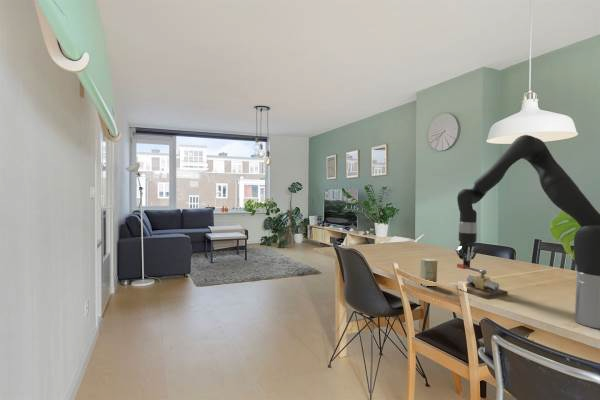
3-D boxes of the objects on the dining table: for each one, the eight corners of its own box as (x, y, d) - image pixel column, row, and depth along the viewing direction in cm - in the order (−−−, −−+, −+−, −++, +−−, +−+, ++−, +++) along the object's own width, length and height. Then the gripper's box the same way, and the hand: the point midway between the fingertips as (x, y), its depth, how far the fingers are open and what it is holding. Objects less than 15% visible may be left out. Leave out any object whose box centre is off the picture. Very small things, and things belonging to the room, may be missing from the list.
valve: (499, 293, 140) (500, 277, 140) (492, 294, 138) (493, 278, 138) (472, 285, 152) (473, 270, 152) (465, 285, 150) (466, 270, 150)
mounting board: (507, 294, 143) (507, 291, 143) (485, 298, 137) (485, 294, 137) (478, 286, 156) (478, 282, 155) (456, 289, 150) (456, 285, 150)
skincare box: (425, 287, 152) (426, 260, 152) (419, 284, 156) (420, 258, 156) (437, 286, 154) (438, 260, 153) (431, 283, 158) (431, 258, 158)
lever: (487, 274, 144) (488, 270, 144) (483, 274, 143) (483, 271, 143) (460, 266, 157) (460, 263, 157) (456, 267, 156) (456, 263, 156)
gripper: (470, 230, 162) (469, 265, 162) (450, 231, 156) (449, 267, 157) (484, 232, 155) (483, 269, 155) (464, 233, 150) (463, 271, 150)
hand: (466, 268), depth 156 cm, fingers closed
